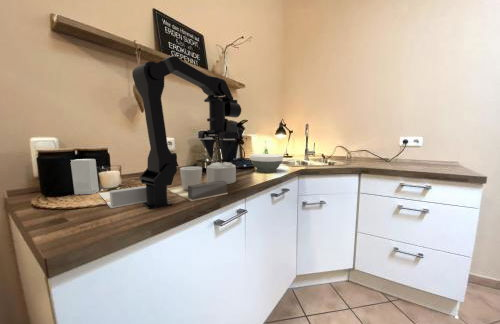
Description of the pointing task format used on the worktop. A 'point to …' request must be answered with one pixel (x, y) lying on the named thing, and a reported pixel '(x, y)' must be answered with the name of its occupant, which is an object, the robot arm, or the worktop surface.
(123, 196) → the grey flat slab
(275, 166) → the bowl
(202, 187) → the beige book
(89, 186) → the skincare box
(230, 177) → the lumpy-topped squat cylinder
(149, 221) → the worktop surface
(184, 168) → the cup
